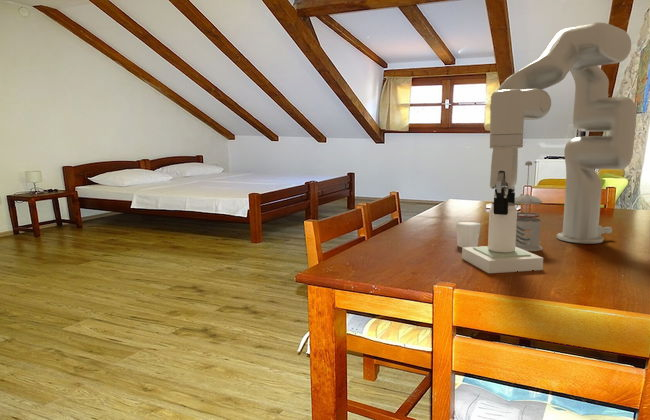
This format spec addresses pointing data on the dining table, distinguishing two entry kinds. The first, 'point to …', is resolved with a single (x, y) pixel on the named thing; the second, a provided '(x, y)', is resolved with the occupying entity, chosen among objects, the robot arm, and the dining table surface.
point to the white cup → (467, 233)
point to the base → (502, 260)
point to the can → (502, 230)
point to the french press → (528, 223)
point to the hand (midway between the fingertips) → (504, 210)
